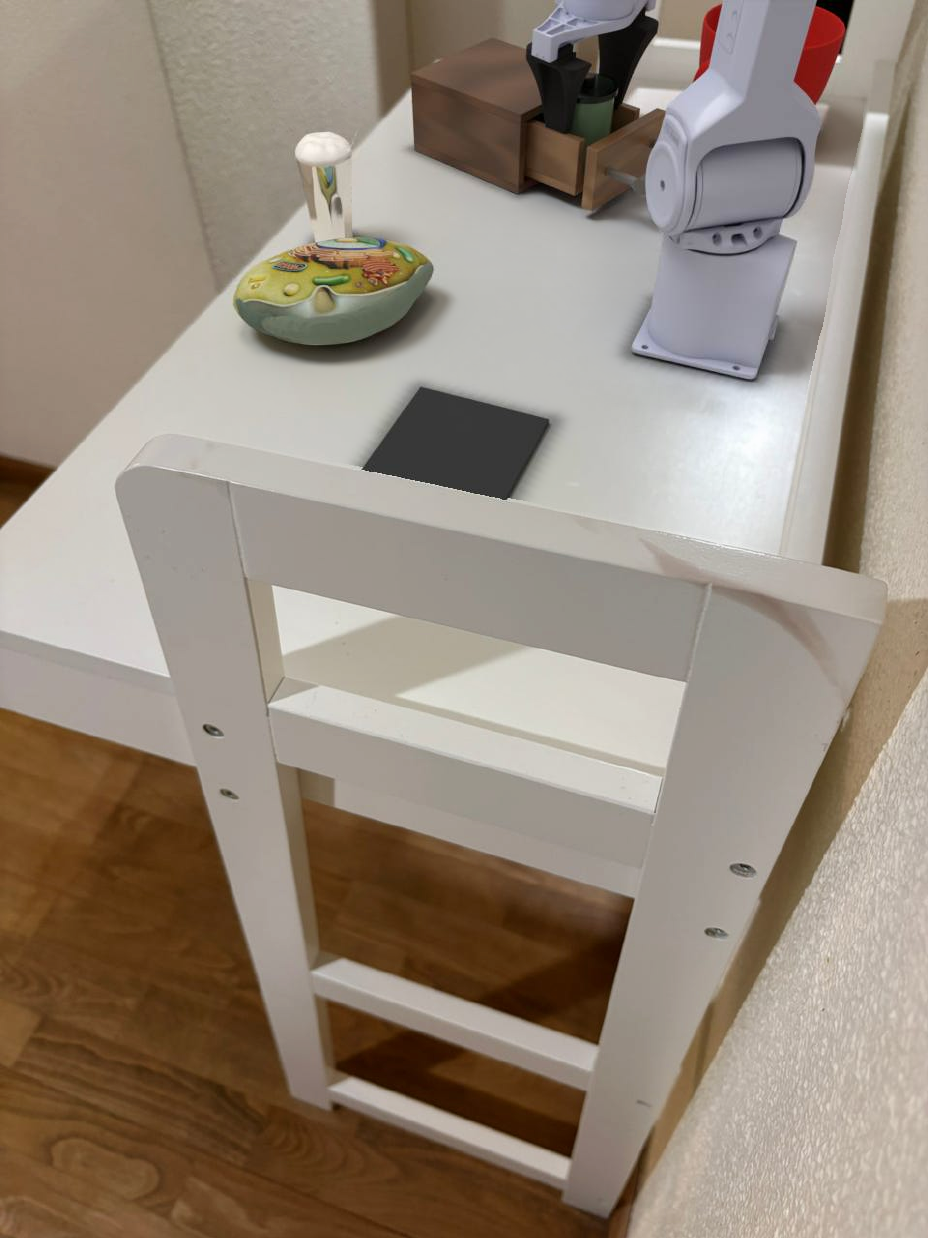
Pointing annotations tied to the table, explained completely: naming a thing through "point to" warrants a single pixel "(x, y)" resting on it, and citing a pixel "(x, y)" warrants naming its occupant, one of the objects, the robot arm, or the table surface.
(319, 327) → the cell model
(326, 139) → the milkshake
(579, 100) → the pot
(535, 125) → the drawer
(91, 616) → the table surface
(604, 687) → the table surface
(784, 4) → the robot arm
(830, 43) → the ceramic cup
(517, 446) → the mat
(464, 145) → the cabinet
